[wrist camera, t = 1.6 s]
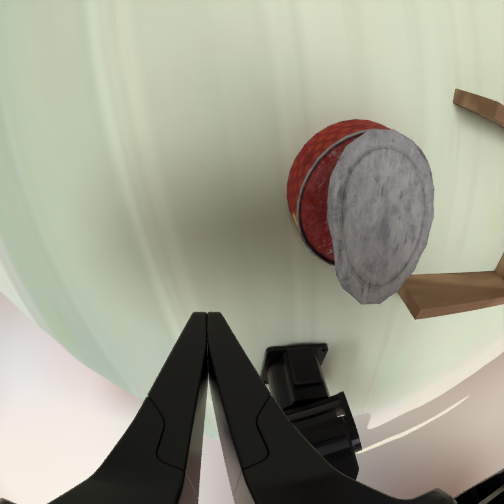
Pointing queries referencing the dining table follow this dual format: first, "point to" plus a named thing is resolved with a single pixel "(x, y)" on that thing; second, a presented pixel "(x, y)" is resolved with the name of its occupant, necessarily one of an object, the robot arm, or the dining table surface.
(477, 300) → the shelf bay
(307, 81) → the dining table surface
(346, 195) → the canned food
